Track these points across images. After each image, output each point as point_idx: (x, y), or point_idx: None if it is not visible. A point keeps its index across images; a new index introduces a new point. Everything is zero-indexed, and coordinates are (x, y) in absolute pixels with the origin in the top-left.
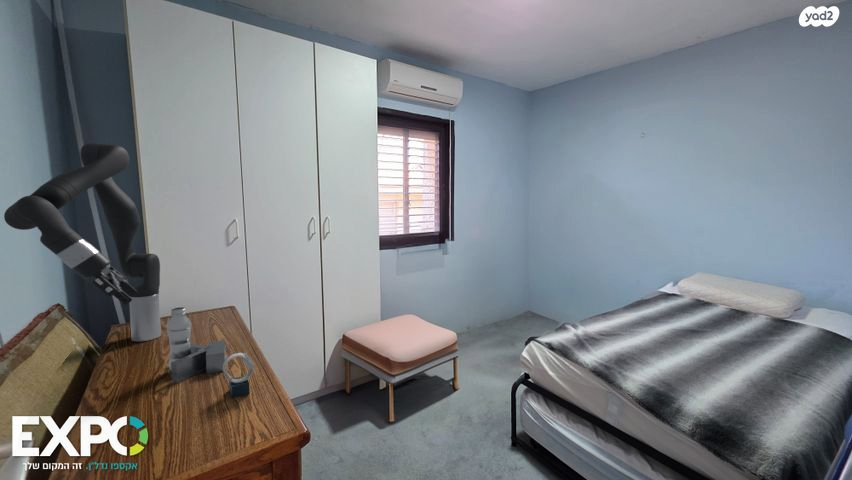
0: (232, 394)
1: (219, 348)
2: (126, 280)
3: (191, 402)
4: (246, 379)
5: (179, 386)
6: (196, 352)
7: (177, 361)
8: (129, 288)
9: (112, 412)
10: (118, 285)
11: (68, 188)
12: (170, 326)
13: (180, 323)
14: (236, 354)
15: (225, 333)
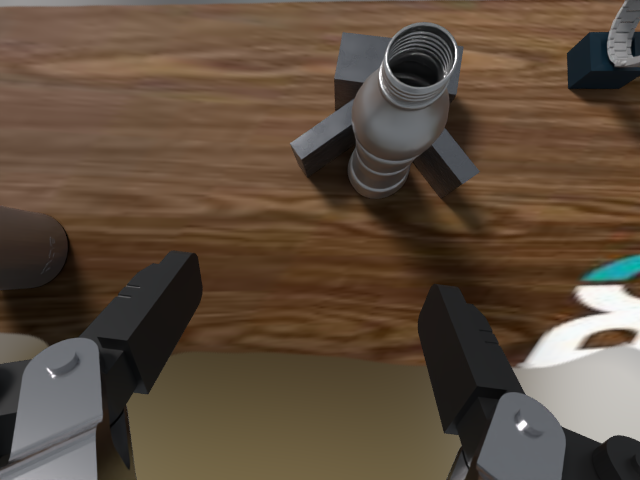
0: (628, 82)
1: None
2: (52, 368)
3: (588, 166)
4: (633, 31)
5: (478, 184)
6: None
7: (464, 168)
8: (162, 314)
9: (542, 313)
10: (486, 474)
11: None
12: (432, 139)
13: (448, 95)
14: None
15: (139, 50)
